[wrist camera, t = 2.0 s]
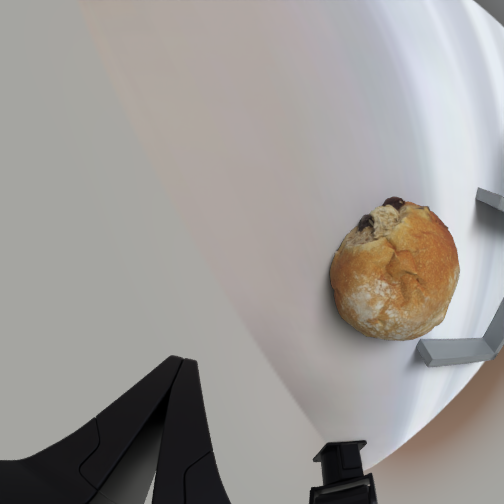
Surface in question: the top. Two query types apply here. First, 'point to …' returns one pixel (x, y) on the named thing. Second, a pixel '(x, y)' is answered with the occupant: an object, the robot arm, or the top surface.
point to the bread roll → (395, 272)
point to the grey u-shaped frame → (473, 349)
